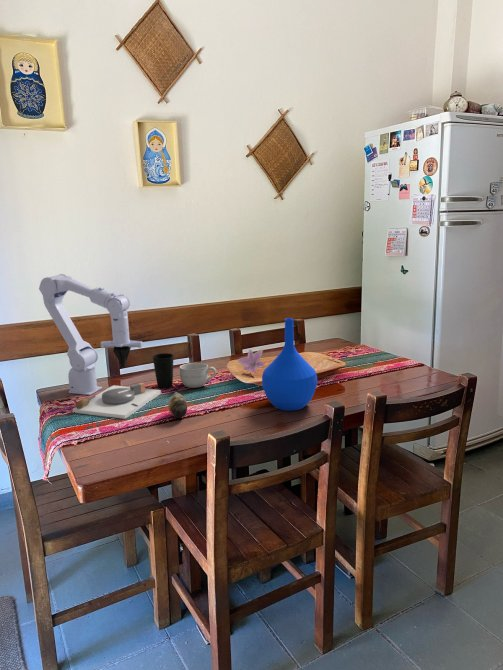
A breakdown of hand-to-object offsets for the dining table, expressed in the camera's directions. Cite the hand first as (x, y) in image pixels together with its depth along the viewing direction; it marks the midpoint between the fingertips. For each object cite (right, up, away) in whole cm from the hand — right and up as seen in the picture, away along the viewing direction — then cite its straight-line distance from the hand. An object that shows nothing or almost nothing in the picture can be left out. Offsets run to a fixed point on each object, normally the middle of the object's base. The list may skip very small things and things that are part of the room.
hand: (123, 366), depth 186 cm
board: (0, -12, -5) cm, 13 cm away
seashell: (+22, -15, -19) cm, 33 cm away
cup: (+13, -8, +10) cm, 18 cm away
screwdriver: (-10, -12, -10) cm, 19 cm away
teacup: (+26, -8, +9) cm, 29 cm away
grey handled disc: (+1, -10, -4) cm, 11 cm away
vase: (+59, -13, -12) cm, 61 cm away
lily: (+46, -4, +22) cm, 51 cm away
